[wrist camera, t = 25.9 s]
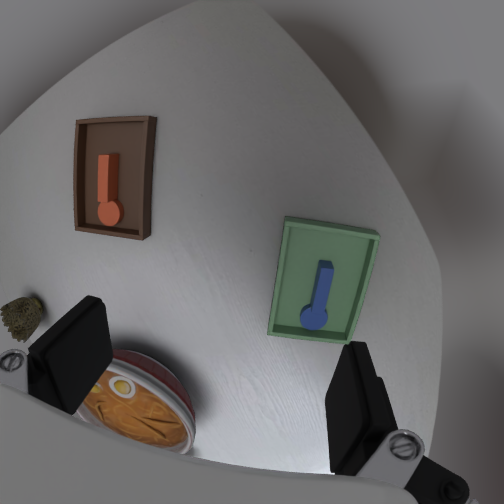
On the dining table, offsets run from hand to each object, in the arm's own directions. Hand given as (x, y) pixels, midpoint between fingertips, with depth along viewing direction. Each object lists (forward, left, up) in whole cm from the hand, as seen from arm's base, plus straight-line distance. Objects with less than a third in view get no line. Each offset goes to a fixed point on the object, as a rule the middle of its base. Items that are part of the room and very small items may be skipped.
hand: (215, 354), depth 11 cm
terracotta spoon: (-1, -20, -26) cm, 33 cm away
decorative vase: (+22, -40, -26) cm, 53 cm away
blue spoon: (+10, +8, -26) cm, 29 cm away
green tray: (+8, +8, -26) cm, 29 cm away
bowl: (+32, -17, -26) cm, 45 cm away
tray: (-2, -20, -26) cm, 33 cm away
